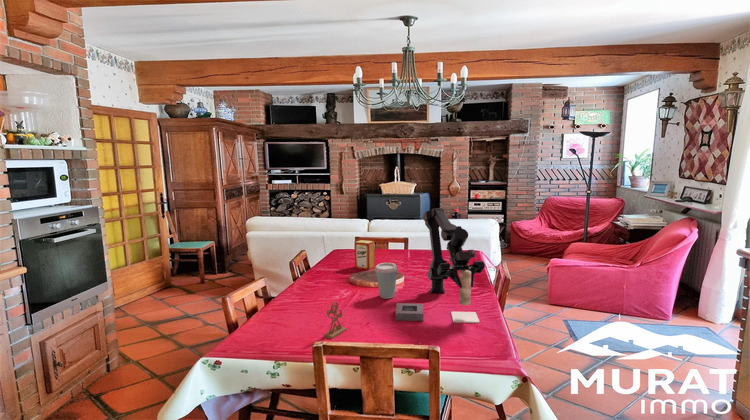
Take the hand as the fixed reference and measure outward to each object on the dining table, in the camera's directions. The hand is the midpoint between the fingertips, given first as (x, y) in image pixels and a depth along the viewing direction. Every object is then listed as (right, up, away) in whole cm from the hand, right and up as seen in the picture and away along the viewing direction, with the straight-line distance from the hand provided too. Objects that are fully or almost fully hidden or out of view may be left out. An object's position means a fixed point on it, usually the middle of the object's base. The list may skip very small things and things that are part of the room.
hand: (466, 287), depth 158 cm
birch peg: (0, -7, +2) cm, 7 cm away
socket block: (-22, -13, +6) cm, 26 cm away
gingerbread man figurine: (-51, -15, -10) cm, 54 cm away
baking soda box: (-42, -4, +79) cm, 89 cm away
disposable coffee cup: (-31, -10, +29) cm, 43 cm away
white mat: (0, -13, +3) cm, 13 cm away
